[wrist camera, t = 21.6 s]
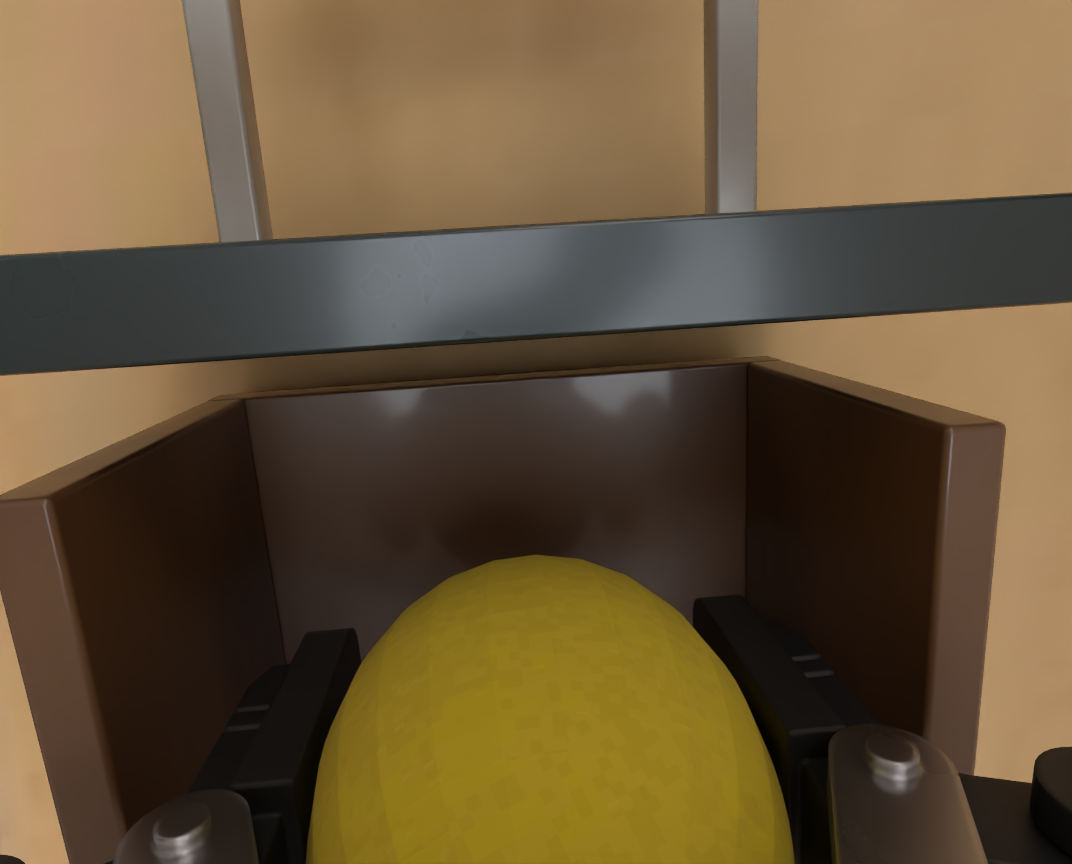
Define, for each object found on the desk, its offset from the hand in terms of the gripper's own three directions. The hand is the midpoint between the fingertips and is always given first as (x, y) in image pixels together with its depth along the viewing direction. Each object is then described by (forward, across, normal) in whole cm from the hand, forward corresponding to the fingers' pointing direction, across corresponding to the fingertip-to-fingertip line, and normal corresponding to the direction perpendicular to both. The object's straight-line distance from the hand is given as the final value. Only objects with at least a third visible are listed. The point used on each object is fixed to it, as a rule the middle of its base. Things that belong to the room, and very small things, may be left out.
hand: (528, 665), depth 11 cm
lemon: (+1, 0, 0) cm, 1 cm away
